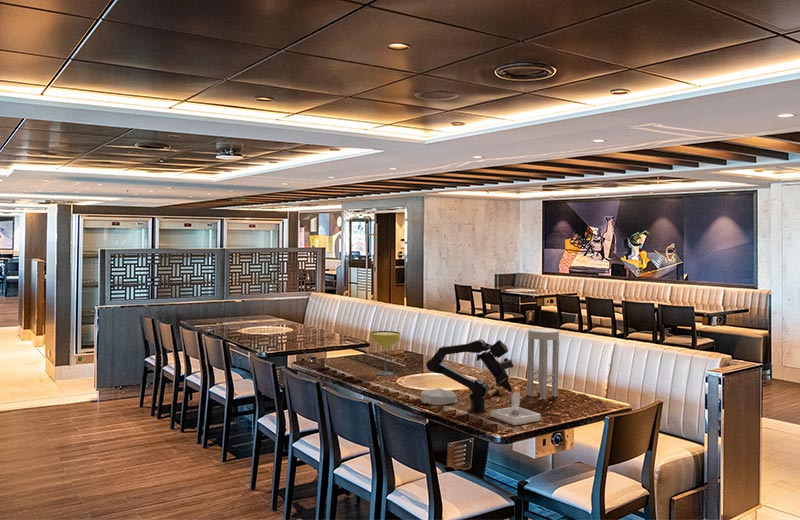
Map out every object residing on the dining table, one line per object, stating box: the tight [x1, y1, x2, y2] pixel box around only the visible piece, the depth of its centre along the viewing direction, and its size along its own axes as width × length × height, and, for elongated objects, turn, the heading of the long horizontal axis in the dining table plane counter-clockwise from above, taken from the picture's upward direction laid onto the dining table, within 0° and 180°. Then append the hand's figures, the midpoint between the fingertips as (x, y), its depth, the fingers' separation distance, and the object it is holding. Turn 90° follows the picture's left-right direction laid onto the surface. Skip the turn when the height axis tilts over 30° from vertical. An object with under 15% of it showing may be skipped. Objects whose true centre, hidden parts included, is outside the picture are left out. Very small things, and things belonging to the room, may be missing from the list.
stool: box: [526, 328, 560, 400], centre depth 344 cm, size 16×16×35 cm
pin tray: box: [490, 406, 542, 426], centre depth 299 cm, size 16×16×3 cm
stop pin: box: [509, 386, 522, 418], centre depth 298 cm, size 6×6×14 cm
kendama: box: [485, 383, 507, 399], centre depth 345 cm, size 8×6×18 cm
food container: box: [419, 387, 458, 406], centre depth 331 cm, size 20×20×7 cm
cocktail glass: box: [370, 330, 401, 376], centre depth 395 cm, size 18×18×25 cm
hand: (511, 389), depth 307 cm, fingers open, 9 cm apart
